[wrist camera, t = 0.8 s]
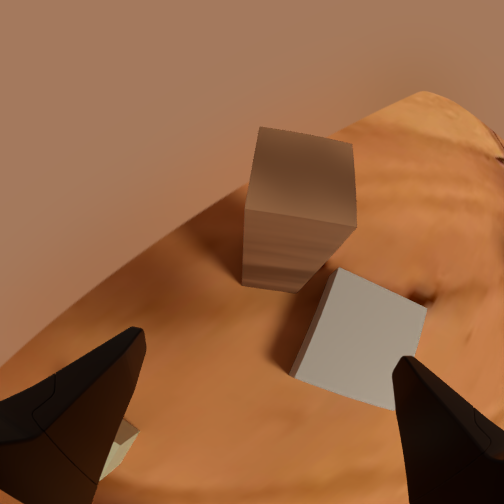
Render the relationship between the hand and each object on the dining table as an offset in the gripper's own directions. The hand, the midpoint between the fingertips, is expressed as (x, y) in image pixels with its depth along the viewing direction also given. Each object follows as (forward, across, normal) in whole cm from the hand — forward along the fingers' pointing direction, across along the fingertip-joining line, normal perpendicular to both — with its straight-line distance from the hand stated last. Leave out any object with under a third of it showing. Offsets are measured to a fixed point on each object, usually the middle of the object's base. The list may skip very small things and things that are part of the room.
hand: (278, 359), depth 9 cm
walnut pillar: (+15, 0, +4) cm, 15 cm away
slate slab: (+11, -8, +8) cm, 16 cm away
